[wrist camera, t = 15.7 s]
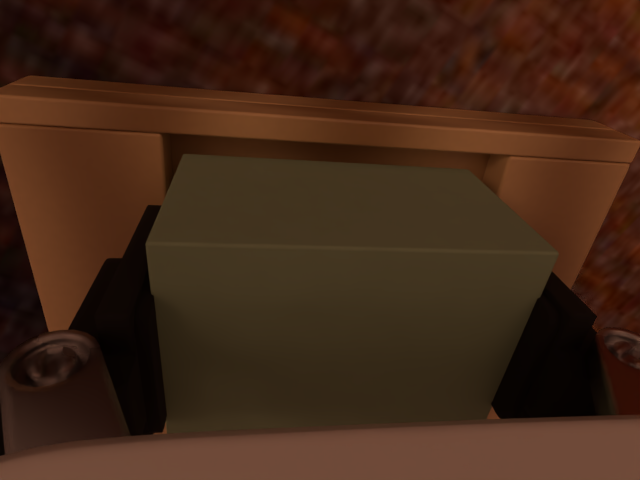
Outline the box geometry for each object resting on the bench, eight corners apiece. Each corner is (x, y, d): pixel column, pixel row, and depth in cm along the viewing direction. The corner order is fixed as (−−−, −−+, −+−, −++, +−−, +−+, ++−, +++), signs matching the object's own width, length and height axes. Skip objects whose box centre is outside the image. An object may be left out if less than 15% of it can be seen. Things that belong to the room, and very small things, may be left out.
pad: (192, 320, 13) (167, 448, 9) (182, 152, 10) (143, 242, 7) (425, 320, 14) (480, 434, 10) (468, 168, 11) (561, 253, 8)
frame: (108, 440, 17) (57, 592, 13) (27, 74, 11) (-134, 141, 6) (465, 428, 20) (521, 554, 15) (592, 119, 13) (759, 190, 8)
